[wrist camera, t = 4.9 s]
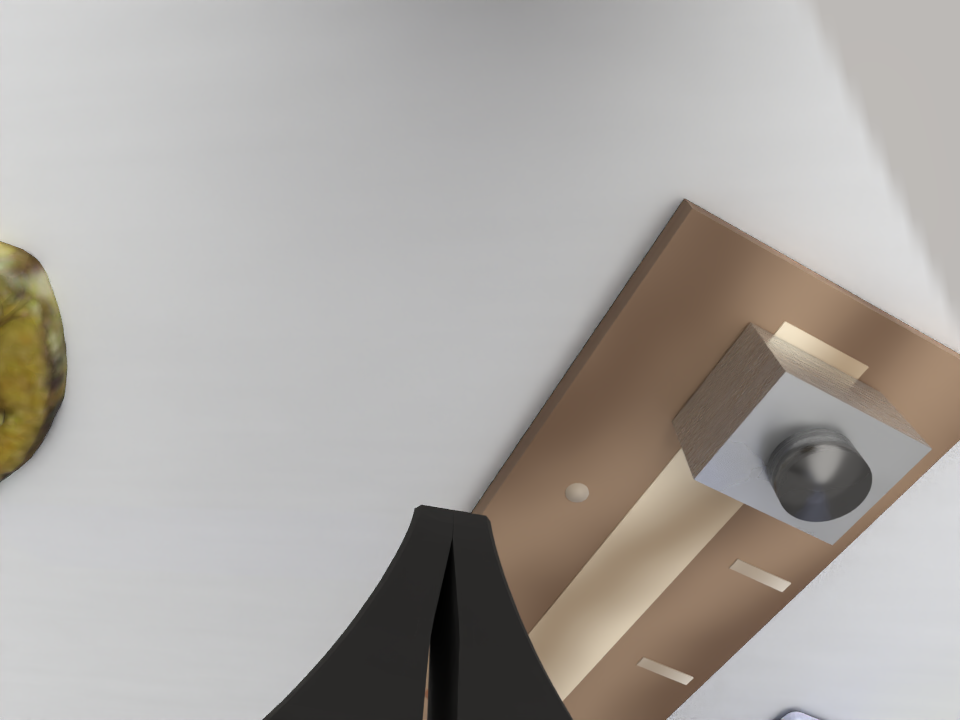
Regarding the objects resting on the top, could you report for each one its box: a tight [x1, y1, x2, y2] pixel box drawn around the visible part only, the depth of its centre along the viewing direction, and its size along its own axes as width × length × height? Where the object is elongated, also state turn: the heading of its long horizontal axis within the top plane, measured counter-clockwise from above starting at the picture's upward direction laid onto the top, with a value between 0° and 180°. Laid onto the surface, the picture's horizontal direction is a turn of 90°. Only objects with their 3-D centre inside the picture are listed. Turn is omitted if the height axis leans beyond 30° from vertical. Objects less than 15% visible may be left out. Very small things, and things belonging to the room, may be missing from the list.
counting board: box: [423, 199, 960, 720], centre depth 27 cm, size 12×26×1 cm, turn 152°
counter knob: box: [672, 323, 932, 545], centre depth 21 cm, size 5×4×4 cm
